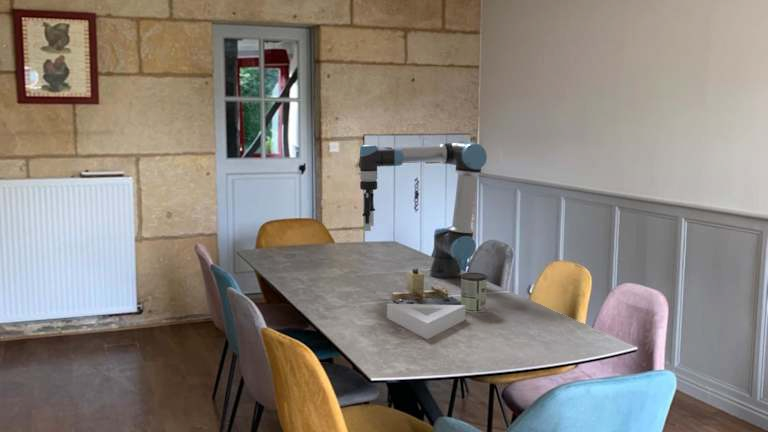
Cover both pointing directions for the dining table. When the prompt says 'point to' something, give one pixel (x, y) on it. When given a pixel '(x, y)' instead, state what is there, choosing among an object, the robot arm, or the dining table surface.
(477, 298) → the coffee can
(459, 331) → the dining table surface
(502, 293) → the dining table surface
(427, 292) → the bar
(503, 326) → the dining table surface
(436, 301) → the bolt plate
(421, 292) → the block
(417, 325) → the triangle block
